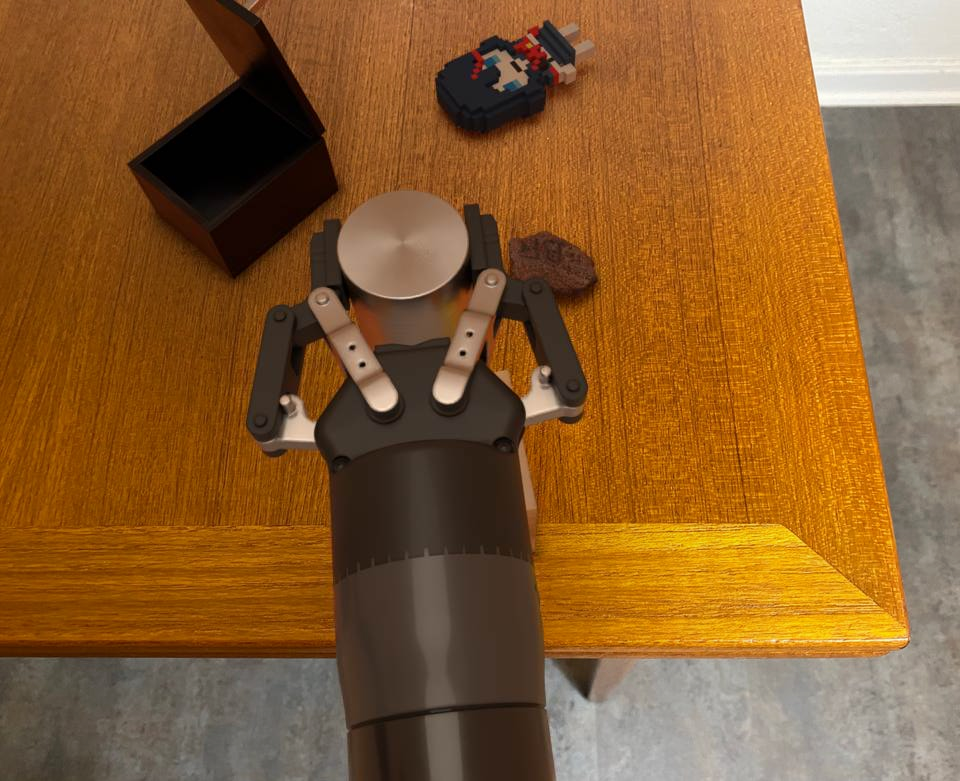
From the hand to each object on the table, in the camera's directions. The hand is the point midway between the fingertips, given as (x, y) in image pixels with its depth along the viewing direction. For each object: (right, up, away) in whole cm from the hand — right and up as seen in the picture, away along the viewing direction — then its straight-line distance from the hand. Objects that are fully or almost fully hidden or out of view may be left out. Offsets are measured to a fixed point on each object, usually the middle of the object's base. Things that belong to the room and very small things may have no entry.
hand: (402, 223), depth 40 cm
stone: (+9, +2, +35) cm, 36 cm away
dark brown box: (-17, +9, +39) cm, 44 cm away
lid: (-15, +18, +28) cm, 37 cm away
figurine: (+7, +21, +44) cm, 49 cm away
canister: (+1, -7, +8) cm, 10 cm away
